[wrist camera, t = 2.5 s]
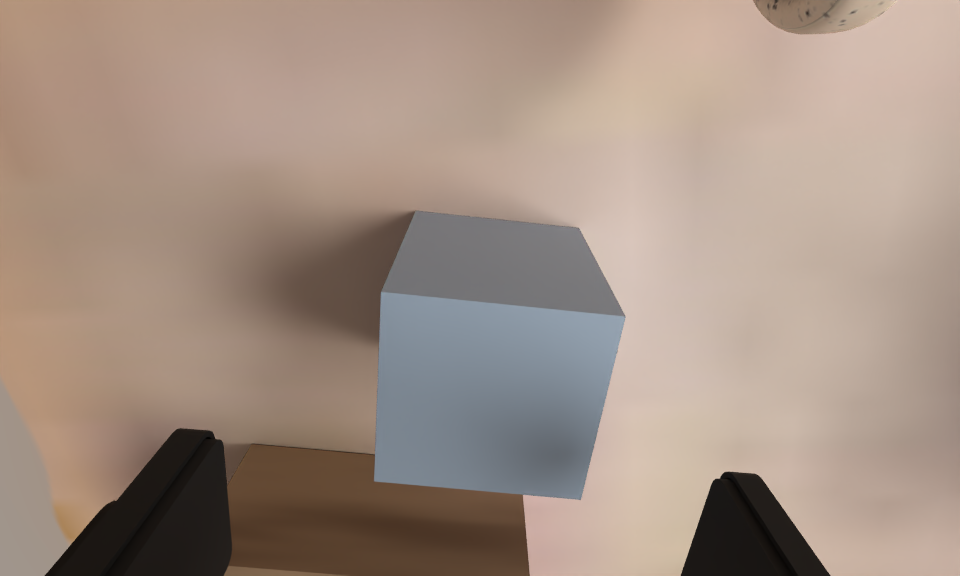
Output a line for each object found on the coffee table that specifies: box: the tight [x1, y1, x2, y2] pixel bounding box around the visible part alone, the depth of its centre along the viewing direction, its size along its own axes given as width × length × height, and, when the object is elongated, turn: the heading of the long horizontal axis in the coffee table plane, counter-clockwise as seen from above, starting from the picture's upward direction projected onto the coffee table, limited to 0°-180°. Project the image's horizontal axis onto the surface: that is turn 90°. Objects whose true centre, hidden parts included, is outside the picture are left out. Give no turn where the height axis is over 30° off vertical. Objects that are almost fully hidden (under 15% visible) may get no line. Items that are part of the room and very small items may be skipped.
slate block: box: [374, 211, 625, 500], centre depth 15 cm, size 5×5×6 cm
